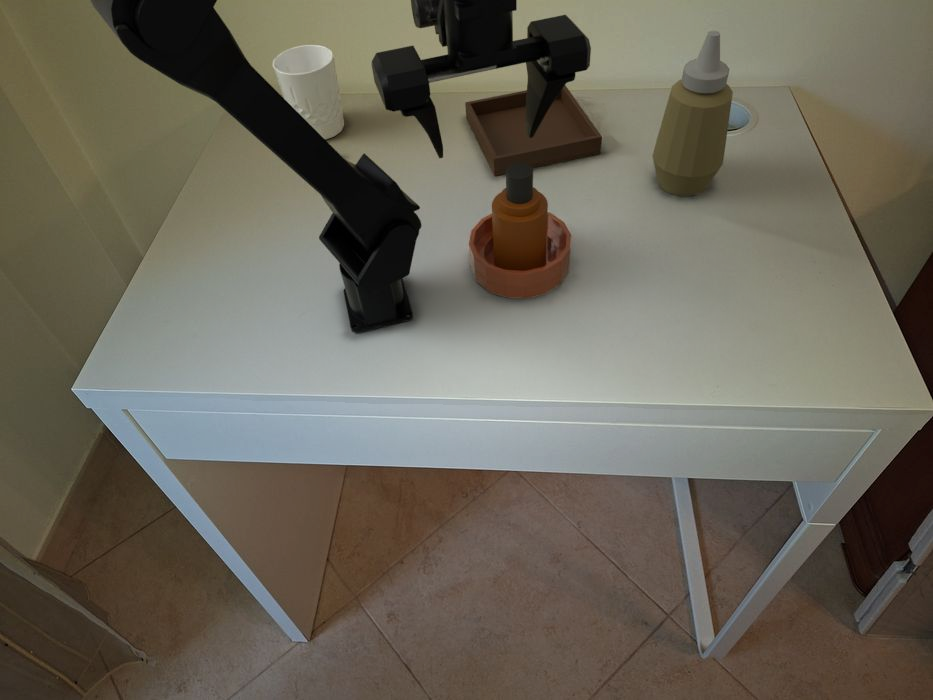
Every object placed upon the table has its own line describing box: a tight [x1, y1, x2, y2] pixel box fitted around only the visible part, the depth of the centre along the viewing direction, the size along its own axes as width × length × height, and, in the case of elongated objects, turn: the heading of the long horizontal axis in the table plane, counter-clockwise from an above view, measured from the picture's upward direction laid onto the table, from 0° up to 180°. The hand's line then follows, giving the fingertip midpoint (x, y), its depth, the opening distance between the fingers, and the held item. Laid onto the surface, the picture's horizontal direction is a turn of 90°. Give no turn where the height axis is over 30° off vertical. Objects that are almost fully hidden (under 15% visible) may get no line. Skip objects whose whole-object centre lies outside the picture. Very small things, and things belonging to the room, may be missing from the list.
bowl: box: [468, 211, 572, 299], centre depth 72 cm, size 11×11×4 cm
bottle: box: [491, 163, 549, 271], centre depth 69 cm, size 6×6×12 cm
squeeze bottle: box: [652, 30, 734, 197], centre depth 75 cm, size 8×8×18 cm
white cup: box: [272, 44, 345, 141], centre depth 91 cm, size 8×8×10 cm
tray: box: [464, 84, 603, 177], centre depth 89 cm, size 14×14×2 cm
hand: (485, 145), depth 66 cm, fingers open, 9 cm apart
